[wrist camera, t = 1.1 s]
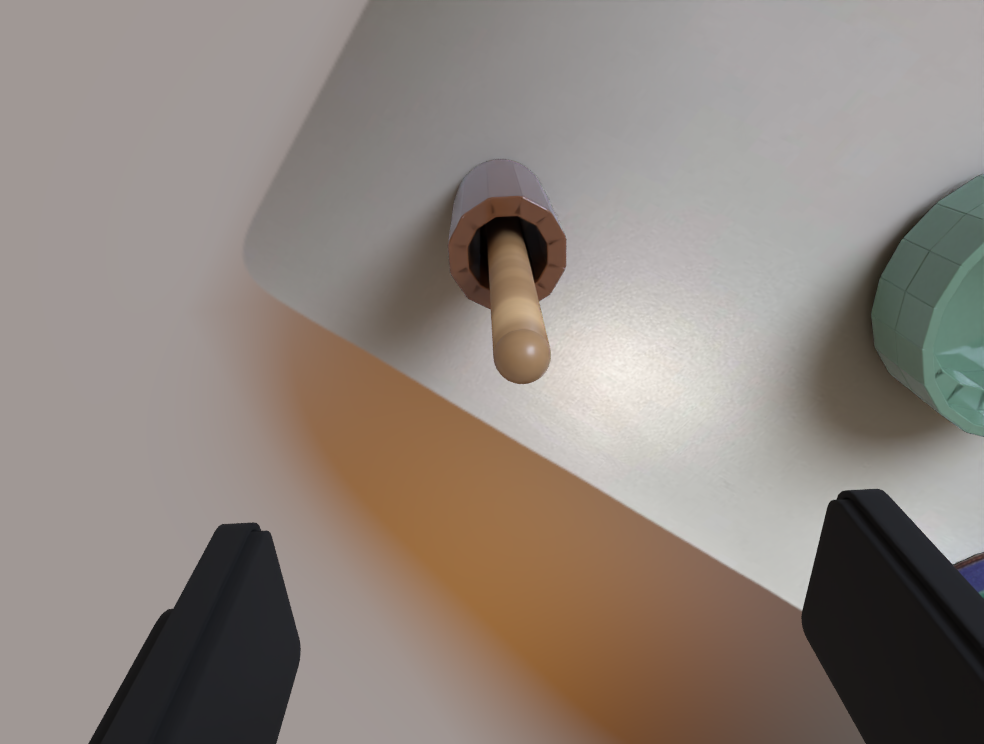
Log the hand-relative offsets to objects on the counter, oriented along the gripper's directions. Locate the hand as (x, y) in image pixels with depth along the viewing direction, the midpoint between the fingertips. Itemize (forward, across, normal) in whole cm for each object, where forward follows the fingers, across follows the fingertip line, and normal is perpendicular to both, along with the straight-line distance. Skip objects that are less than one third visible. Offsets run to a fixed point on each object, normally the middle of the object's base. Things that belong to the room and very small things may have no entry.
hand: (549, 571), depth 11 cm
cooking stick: (+25, 0, 0) cm, 25 cm away
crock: (+26, 0, 0) cm, 26 cm away
